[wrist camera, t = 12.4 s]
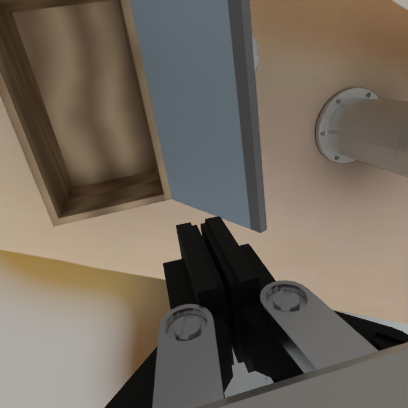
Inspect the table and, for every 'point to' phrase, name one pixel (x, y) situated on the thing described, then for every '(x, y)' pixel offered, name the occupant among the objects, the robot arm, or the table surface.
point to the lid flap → (205, 103)
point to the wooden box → (81, 105)
